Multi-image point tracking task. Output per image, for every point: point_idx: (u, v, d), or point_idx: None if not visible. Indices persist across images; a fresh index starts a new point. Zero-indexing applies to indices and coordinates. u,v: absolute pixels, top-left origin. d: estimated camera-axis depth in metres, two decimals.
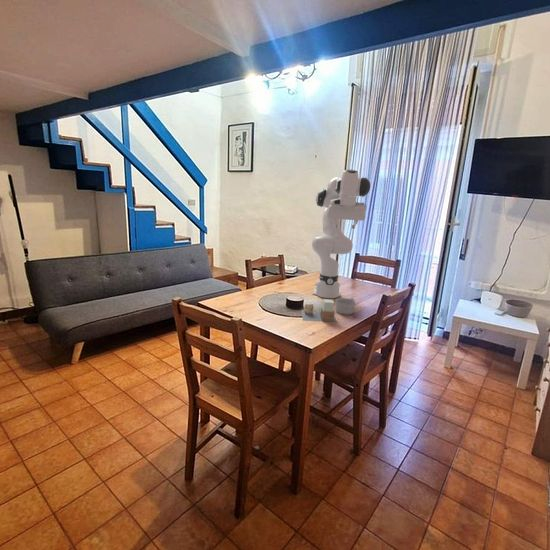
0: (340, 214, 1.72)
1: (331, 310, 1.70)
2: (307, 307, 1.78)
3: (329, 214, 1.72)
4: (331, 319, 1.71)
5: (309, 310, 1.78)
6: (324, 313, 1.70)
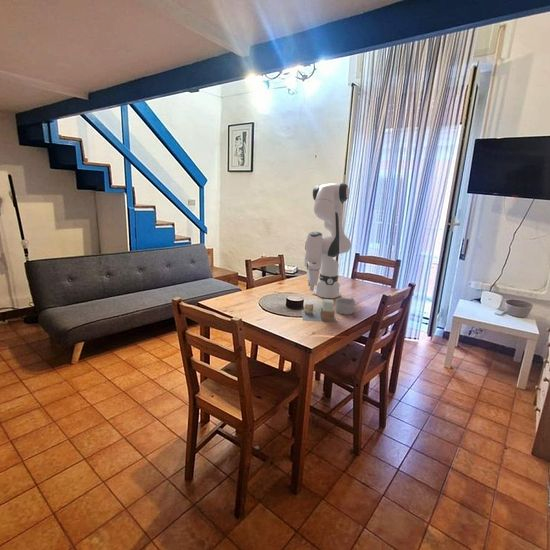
0: None
1: (331, 310, 1.70)
2: (307, 307, 1.78)
3: None
4: (331, 319, 1.71)
5: (309, 310, 1.78)
6: (324, 313, 1.70)
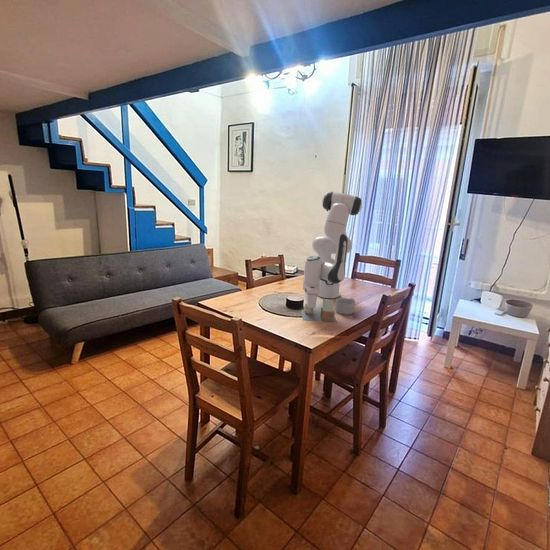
0: None
1: (331, 310, 1.70)
2: (307, 307, 1.78)
3: None
4: (331, 319, 1.71)
5: None
6: (324, 313, 1.70)
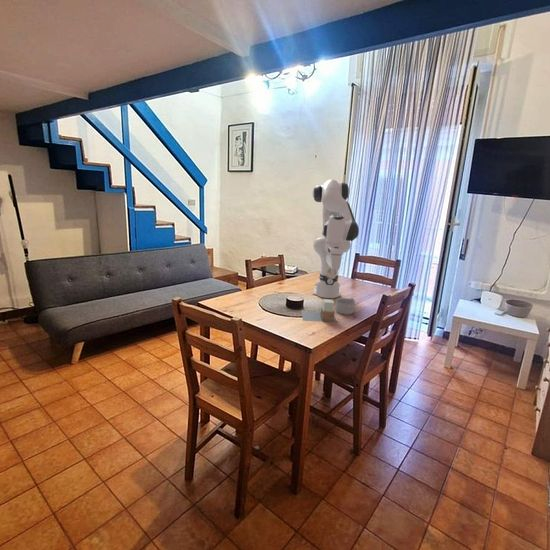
0: None
1: (331, 310, 1.70)
2: (330, 270, 1.65)
3: None
4: (331, 319, 1.71)
5: None
6: (324, 313, 1.70)
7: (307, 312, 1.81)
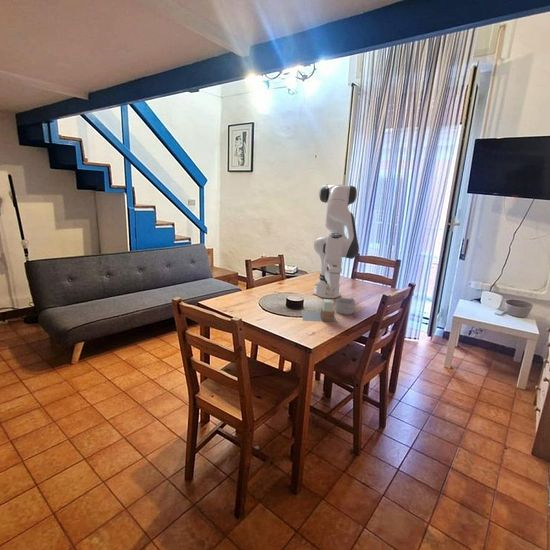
0: None
1: (331, 310, 1.70)
2: (328, 288, 1.68)
3: None
4: (331, 319, 1.71)
5: None
6: (324, 313, 1.70)
7: (307, 312, 1.81)
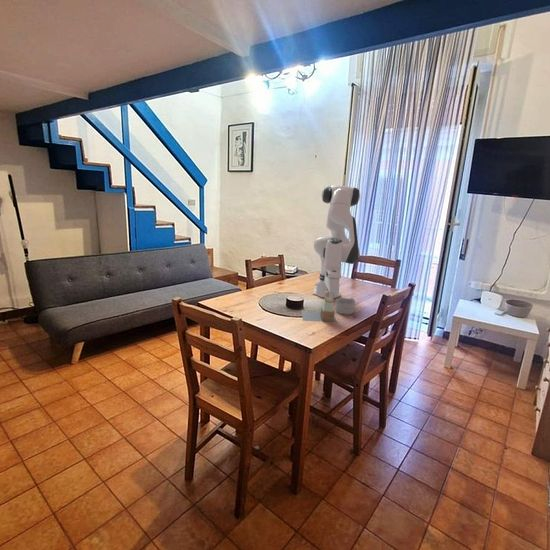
0: None
1: (331, 310, 1.70)
2: (327, 294, 1.69)
3: None
4: (331, 319, 1.71)
5: None
6: (324, 313, 1.70)
7: (307, 312, 1.81)
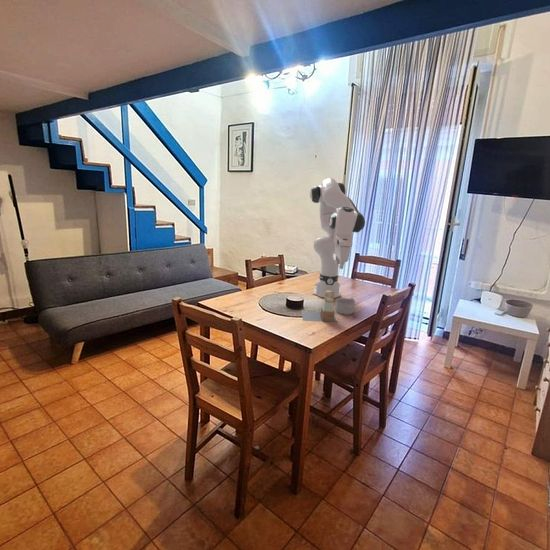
0: None
1: (331, 310, 1.70)
2: (327, 294, 1.69)
3: None
4: (331, 319, 1.71)
5: (330, 298, 1.69)
6: (324, 313, 1.70)
7: (307, 312, 1.81)
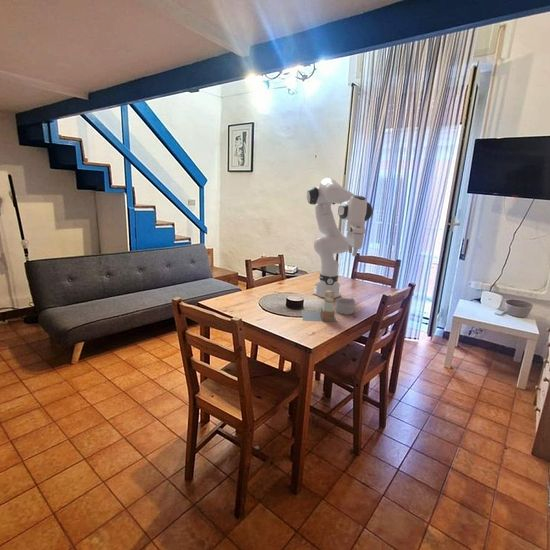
0: None
1: (331, 310, 1.70)
2: (327, 294, 1.69)
3: None
4: (331, 319, 1.71)
5: (330, 298, 1.69)
6: (324, 313, 1.70)
7: (307, 312, 1.81)
